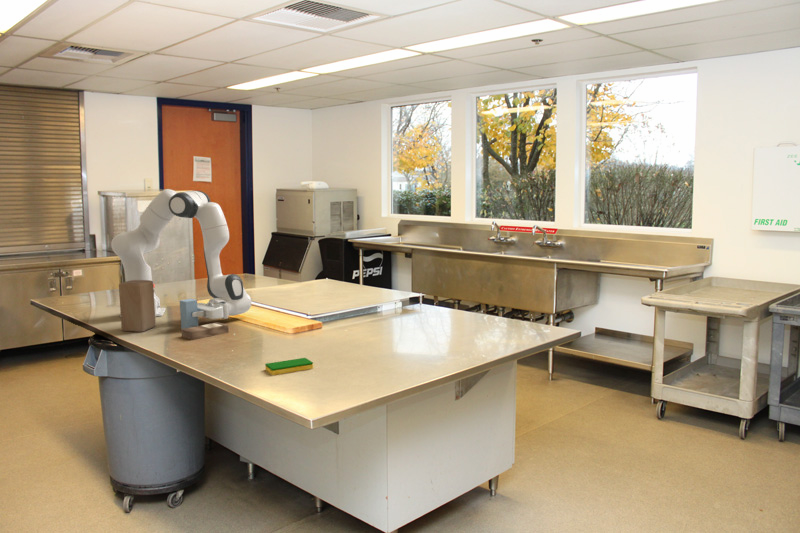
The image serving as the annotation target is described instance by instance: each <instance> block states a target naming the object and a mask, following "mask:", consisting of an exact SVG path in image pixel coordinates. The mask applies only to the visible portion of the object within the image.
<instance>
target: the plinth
mask: <svg viewBox="0 0 800 533" xmlns="http://www.w3.org/2000/svg"><path fill="white" fill-rule="evenodd" d="M180 330H181V337H182V338H185V339H188V340H191V341H194V340H199V339H204V338H209V337H213V336H216V335H222V334H227V333H229V325H228V324H227V323H226V324H225V323H221V322H217V321H216V322H211V323H206V324H201V325H198V326H196V327H191V328H186V329H180Z"/></svg>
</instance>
